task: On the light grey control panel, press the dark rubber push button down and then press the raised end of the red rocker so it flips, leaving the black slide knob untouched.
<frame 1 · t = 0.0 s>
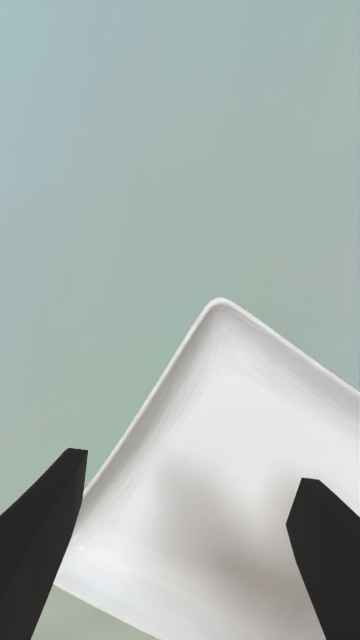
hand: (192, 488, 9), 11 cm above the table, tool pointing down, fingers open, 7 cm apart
salad plate: (243, 483, 21), on the table
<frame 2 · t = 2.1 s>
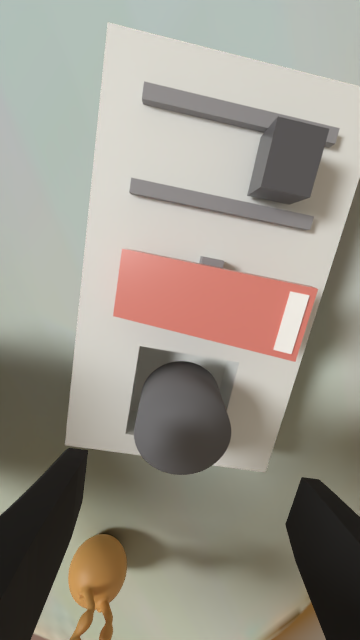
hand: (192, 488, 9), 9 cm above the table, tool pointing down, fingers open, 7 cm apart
figurine: (114, 531, 22), on the table
panel: (197, 285, 17), on the table
button: (181, 413, 14), point 4 cm above the table, slide at 0.0 cm
slider: (284, 165, 12), point 4 cm above the table, slide at -2.0 cm
rocker: (207, 301, 12), point 5 cm above the table, hinge at -15.0°
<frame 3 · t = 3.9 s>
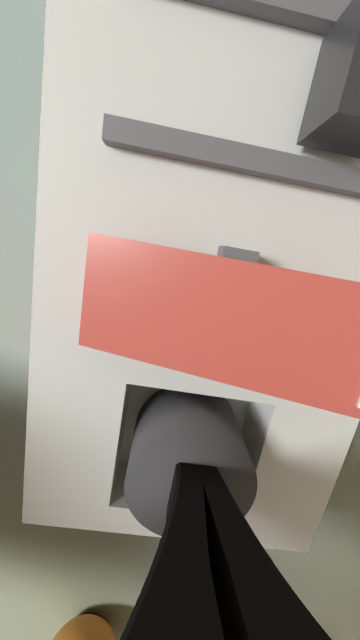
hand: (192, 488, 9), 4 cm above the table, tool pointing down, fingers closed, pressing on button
figurine: (102, 606, 17), on the table
panel: (209, 290, 12), on the table
button: (188, 454, 11), point 3 cm above the table, slide at 1.6 cm, touching gripper
rocker: (235, 320, 7), point 5 cm above the table, hinge at -15.0°
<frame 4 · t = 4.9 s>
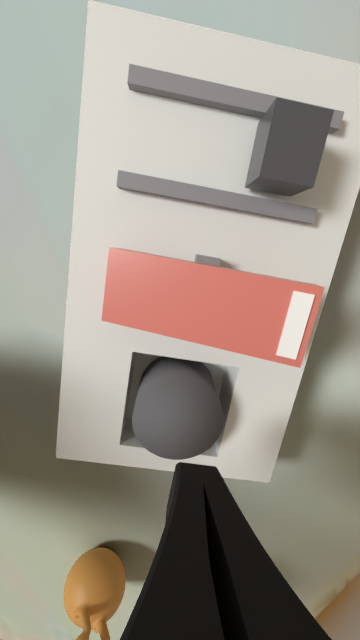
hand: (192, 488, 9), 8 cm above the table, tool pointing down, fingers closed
figurine: (112, 543, 21), on the table
panel: (193, 285, 16), on the table
button: (177, 403, 15), point 3 cm above the table, slide at 1.8 cm
slider: (284, 153, 11), point 4 cm above the table, slide at -2.0 cm
rocker: (203, 303, 11), point 5 cm above the table, hinge at -15.0°
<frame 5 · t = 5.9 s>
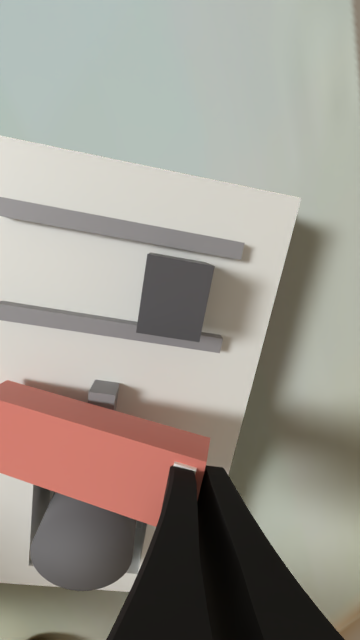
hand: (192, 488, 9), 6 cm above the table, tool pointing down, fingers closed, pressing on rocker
panel: (115, 385, 15), on the table
button: (91, 520, 14), point 3 cm above the table, slide at 1.8 cm
slider: (173, 294, 9), point 4 cm above the table, slide at -2.0 cm
rocker: (89, 453, 10), point 5 cm above the table, hinge at -14.4°, touching gripper
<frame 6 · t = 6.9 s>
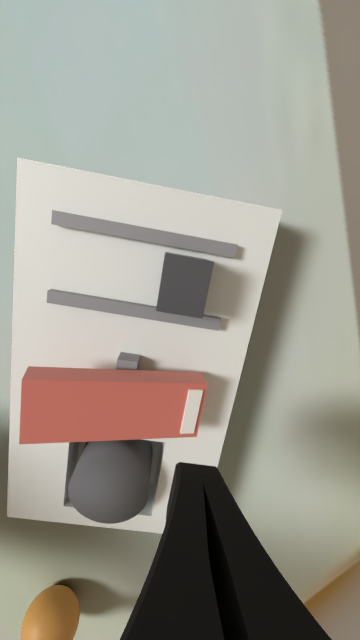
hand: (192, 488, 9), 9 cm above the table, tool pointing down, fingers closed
figurine: (70, 580, 23), on the table
panel: (133, 361, 18), on the table
button: (114, 469, 17), point 3 cm above the table, slide at 1.8 cm
slider: (183, 283, 13), point 4 cm above the table, slide at -2.0 cm
rocker: (119, 405, 13), point 5 cm above the table, hinge at 14.7°
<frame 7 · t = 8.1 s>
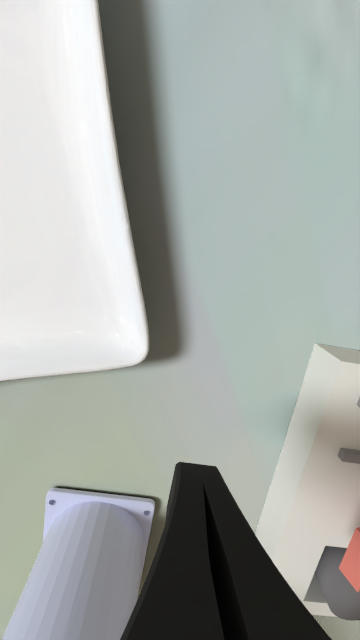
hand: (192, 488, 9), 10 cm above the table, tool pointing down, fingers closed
panel: (350, 476, 22), on the table
button: (346, 571, 21), point 3 cm above the table, slide at 1.8 cm
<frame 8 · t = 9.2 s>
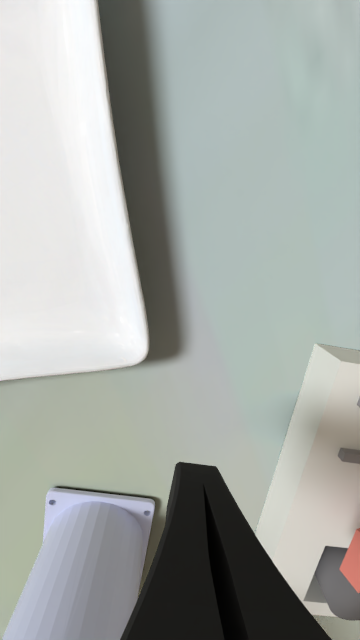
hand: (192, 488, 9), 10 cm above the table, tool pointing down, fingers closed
panel: (350, 476, 22), on the table
button: (346, 571, 21), point 3 cm above the table, slide at 1.8 cm
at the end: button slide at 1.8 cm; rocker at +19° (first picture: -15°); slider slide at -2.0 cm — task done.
